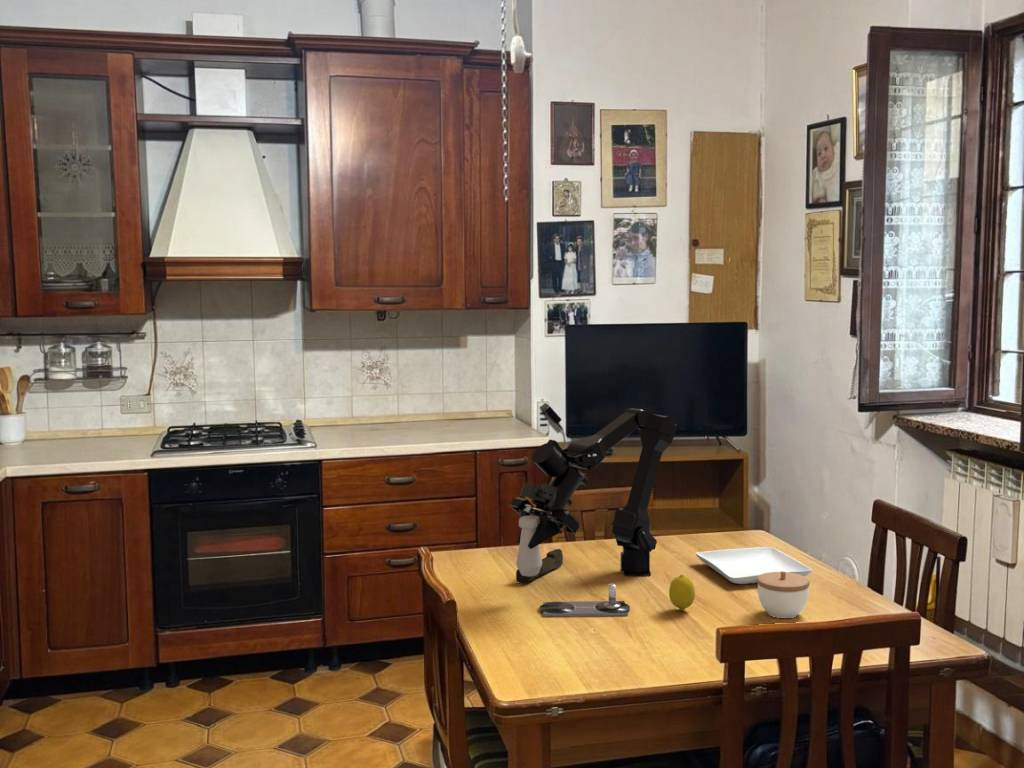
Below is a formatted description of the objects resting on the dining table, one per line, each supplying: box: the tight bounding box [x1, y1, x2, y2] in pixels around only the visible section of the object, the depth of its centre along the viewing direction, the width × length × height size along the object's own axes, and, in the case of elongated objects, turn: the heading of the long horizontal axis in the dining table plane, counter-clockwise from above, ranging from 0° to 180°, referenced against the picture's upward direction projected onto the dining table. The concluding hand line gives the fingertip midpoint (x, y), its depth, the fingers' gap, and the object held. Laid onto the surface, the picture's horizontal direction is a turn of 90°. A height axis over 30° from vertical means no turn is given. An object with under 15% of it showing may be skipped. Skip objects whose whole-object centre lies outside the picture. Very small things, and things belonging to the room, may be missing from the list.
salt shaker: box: [515, 516, 543, 577], centre depth 230 cm, size 6×6×13 cm
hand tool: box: [515, 548, 564, 585], centre depth 252 cm, size 19×4×5 cm, turn 145°
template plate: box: [539, 600, 631, 618], centre depth 225 cm, size 20×8×1 cm, turn 89°
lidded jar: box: [756, 571, 810, 619], centre depth 220 cm, size 11×11×9 cm
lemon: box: [668, 574, 696, 612], centre depth 224 cm, size 6×6×8 cm
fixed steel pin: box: [604, 583, 621, 610], centre depth 225 cm, size 4×4×5 cm
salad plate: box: [695, 546, 813, 585], centre depth 250 cm, size 21×21×3 cm
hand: (524, 546), depth 229 cm, fingers closed on salt shaker, 3 cm apart
